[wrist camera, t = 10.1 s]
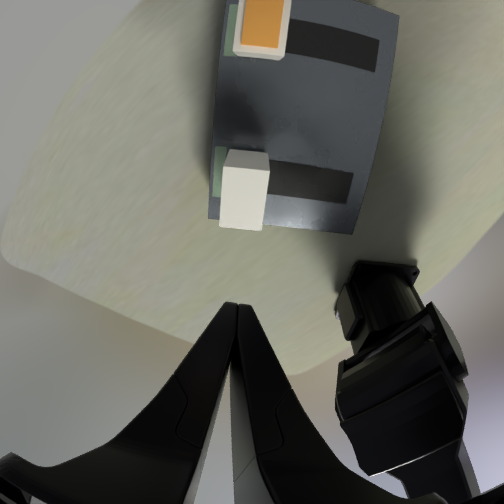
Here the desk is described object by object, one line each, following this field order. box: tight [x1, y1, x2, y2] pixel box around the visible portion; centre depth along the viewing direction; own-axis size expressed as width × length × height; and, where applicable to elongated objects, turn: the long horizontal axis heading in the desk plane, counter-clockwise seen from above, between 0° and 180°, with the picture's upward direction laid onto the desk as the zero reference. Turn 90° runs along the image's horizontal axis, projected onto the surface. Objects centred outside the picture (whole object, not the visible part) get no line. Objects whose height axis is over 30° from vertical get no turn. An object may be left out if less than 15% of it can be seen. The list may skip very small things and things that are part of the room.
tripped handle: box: [233, 0, 292, 60], centre depth 10 cm, size 2×3×3 cm, turn 174°
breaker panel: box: [208, 0, 399, 235], centre depth 15 cm, size 9×14×3 cm, turn 174°
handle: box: [219, 149, 270, 231], centre depth 14 cm, size 2×3×3 cm, turn 174°
